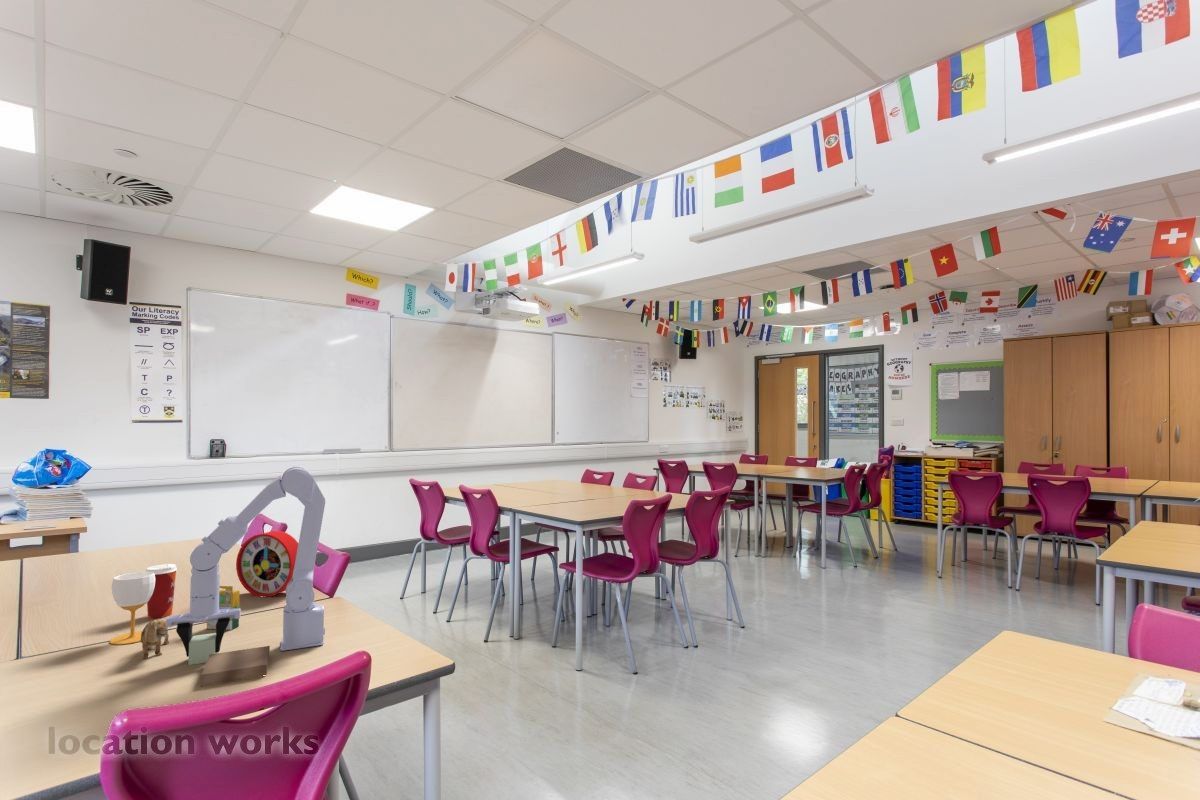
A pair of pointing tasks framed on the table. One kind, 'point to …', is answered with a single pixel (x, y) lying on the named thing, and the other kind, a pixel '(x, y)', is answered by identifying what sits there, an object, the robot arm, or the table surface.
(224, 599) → the crayon box
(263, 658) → the walnut block
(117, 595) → the cup
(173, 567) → the paper cup
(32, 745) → the table surface
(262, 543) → the toy clock
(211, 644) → the sage cube
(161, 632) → the tan animal figurine
